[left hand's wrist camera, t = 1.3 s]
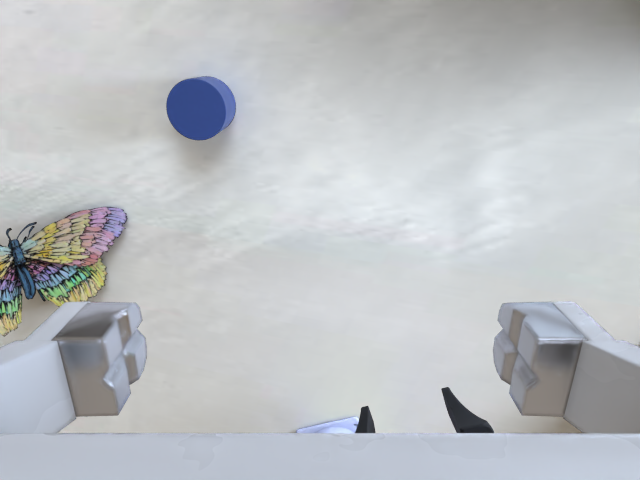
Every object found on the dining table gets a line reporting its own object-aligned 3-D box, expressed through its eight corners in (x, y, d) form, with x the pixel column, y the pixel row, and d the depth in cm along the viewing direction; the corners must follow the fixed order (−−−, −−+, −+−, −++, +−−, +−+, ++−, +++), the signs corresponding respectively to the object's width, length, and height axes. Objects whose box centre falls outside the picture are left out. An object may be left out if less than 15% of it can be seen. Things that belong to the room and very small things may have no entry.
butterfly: (-87, 362, 40) (-47, 380, 34) (-131, 254, 38) (-96, 254, 32) (98, 291, 53) (148, 295, 48) (73, 208, 51) (123, 202, 45)
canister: (188, 135, 43) (174, 143, 39) (176, 80, 41) (159, 82, 37) (240, 128, 43) (231, 136, 39) (229, 72, 41) (219, 74, 37)
